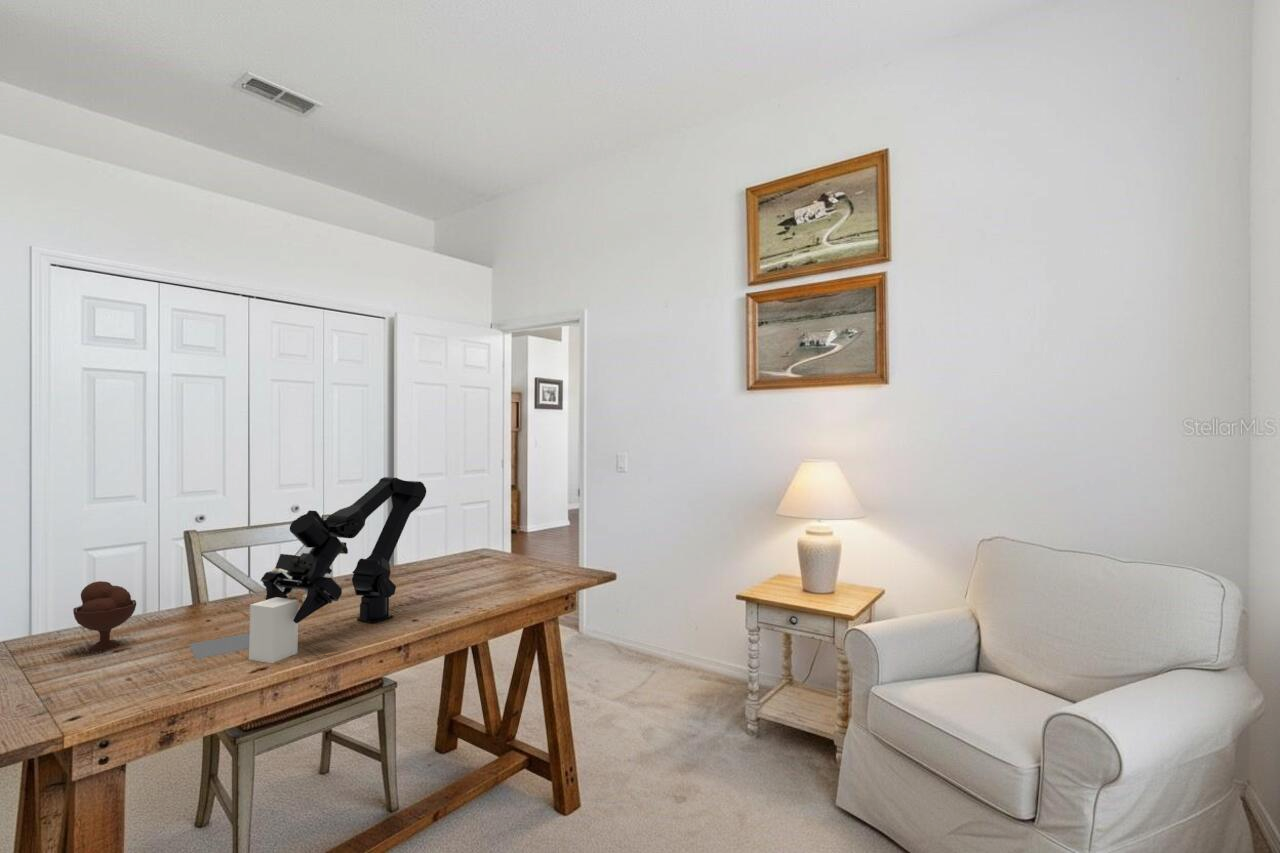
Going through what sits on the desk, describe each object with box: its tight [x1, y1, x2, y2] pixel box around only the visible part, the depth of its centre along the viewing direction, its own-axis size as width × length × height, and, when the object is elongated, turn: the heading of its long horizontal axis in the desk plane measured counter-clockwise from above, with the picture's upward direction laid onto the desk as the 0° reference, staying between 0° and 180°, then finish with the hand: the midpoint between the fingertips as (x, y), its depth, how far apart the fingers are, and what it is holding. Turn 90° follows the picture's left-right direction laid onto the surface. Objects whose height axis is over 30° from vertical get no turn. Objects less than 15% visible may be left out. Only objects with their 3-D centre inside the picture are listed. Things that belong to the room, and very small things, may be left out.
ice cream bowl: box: [72, 580, 138, 653], centre depth 139 cm, size 11×11×15 cm
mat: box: [187, 632, 250, 660], centre depth 141 cm, size 12×12×1 cm
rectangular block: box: [248, 597, 299, 664], centre depth 135 cm, size 6×6×12 cm
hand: (278, 619), depth 136 cm, fingers open, 9 cm apart
